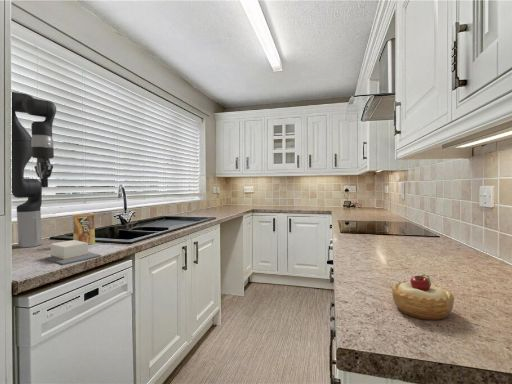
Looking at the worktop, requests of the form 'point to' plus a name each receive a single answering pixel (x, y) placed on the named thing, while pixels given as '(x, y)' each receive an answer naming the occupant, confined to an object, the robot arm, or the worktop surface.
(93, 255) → the mat
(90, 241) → the candy box
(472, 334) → the worktop surface
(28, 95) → the robot arm
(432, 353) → the worktop surface
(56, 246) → the tan block
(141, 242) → the worktop surface
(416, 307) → the pastry
